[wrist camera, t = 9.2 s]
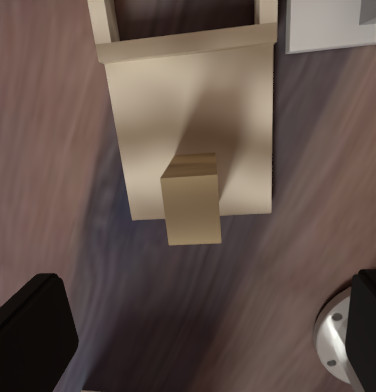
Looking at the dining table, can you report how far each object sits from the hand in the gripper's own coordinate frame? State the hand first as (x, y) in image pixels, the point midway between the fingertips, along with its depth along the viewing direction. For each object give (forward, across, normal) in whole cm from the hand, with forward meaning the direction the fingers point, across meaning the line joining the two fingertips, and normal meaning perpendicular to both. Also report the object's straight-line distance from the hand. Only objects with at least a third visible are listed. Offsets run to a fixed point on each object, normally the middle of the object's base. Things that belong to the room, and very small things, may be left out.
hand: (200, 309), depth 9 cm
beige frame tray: (+13, +1, -9) cm, 16 cm away
